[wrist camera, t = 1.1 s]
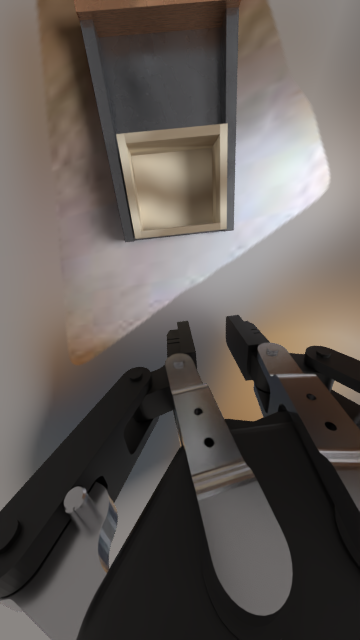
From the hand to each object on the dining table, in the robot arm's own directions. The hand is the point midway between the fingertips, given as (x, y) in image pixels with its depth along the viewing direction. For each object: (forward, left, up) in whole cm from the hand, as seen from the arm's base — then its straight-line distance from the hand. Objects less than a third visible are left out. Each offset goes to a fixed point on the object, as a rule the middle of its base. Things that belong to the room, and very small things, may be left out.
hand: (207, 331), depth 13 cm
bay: (-16, 0, -21) cm, 26 cm away
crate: (-10, 0, -21) cm, 24 cm away
